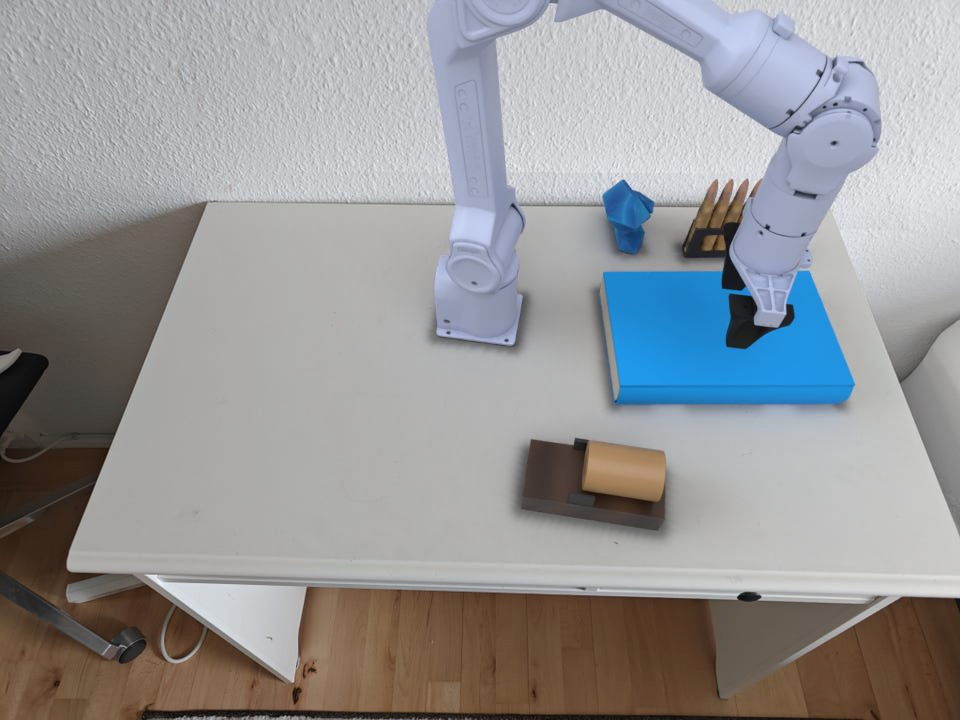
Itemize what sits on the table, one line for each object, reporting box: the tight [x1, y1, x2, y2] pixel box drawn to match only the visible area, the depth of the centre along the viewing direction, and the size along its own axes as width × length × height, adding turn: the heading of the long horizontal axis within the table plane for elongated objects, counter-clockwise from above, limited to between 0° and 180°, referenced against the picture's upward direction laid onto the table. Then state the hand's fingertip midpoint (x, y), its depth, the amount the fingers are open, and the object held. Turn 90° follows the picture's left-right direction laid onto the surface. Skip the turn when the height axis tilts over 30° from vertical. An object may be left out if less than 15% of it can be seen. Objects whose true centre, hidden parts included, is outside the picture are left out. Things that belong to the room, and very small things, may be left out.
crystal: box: [601, 179, 655, 255], centre depth 82 cm, size 7×9×12 cm
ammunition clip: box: [681, 177, 763, 259], centre depth 79 cm, size 11×2×12 cm, turn 91°
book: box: [598, 270, 856, 405], centre depth 73 cm, size 17×4×25 cm
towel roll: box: [582, 439, 667, 502], centre depth 60 cm, size 7×5×5 cm
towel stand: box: [520, 437, 666, 531], centre depth 63 cm, size 14×6×5 cm, turn 80°
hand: (733, 315), depth 65 cm, fingers open, 7 cm apart
